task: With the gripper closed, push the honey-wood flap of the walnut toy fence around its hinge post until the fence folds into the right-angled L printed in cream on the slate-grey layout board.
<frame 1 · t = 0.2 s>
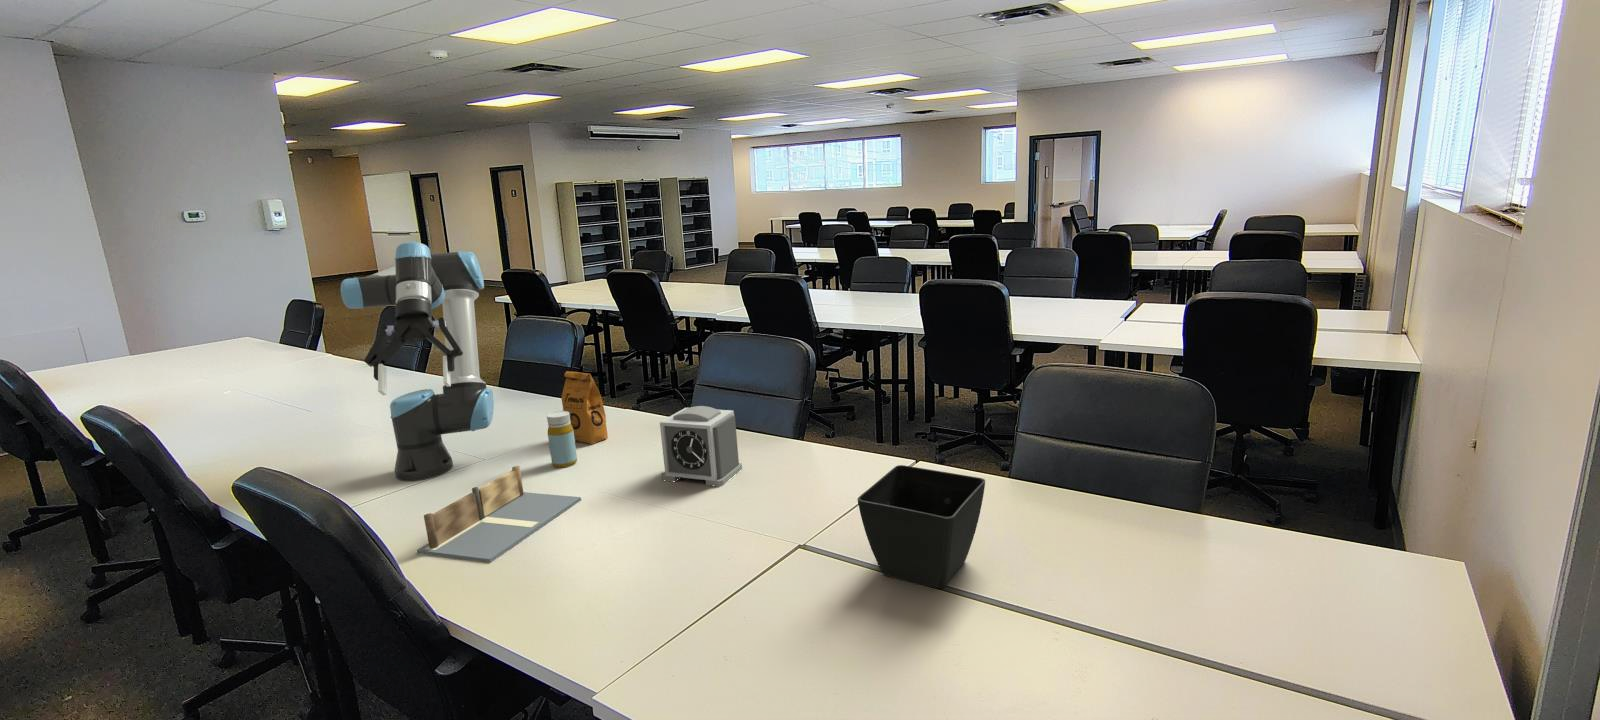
hand: (414, 389, 169), 35 cm above the table, tool tilted 35°, fingers open, 13 cm apart
alarm clock: (702, 475, 203), on the table
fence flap: (501, 490, 187), point 5 cm above the table, hinge at 0.0°
coffee package: (588, 440, 238), on the table
bottle: (565, 464, 218), on the table
layout board: (480, 522, 181), on the table
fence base: (454, 516, 173), on the layout board, point 5 cm above the table
flower pot: (924, 569, 147), on the table
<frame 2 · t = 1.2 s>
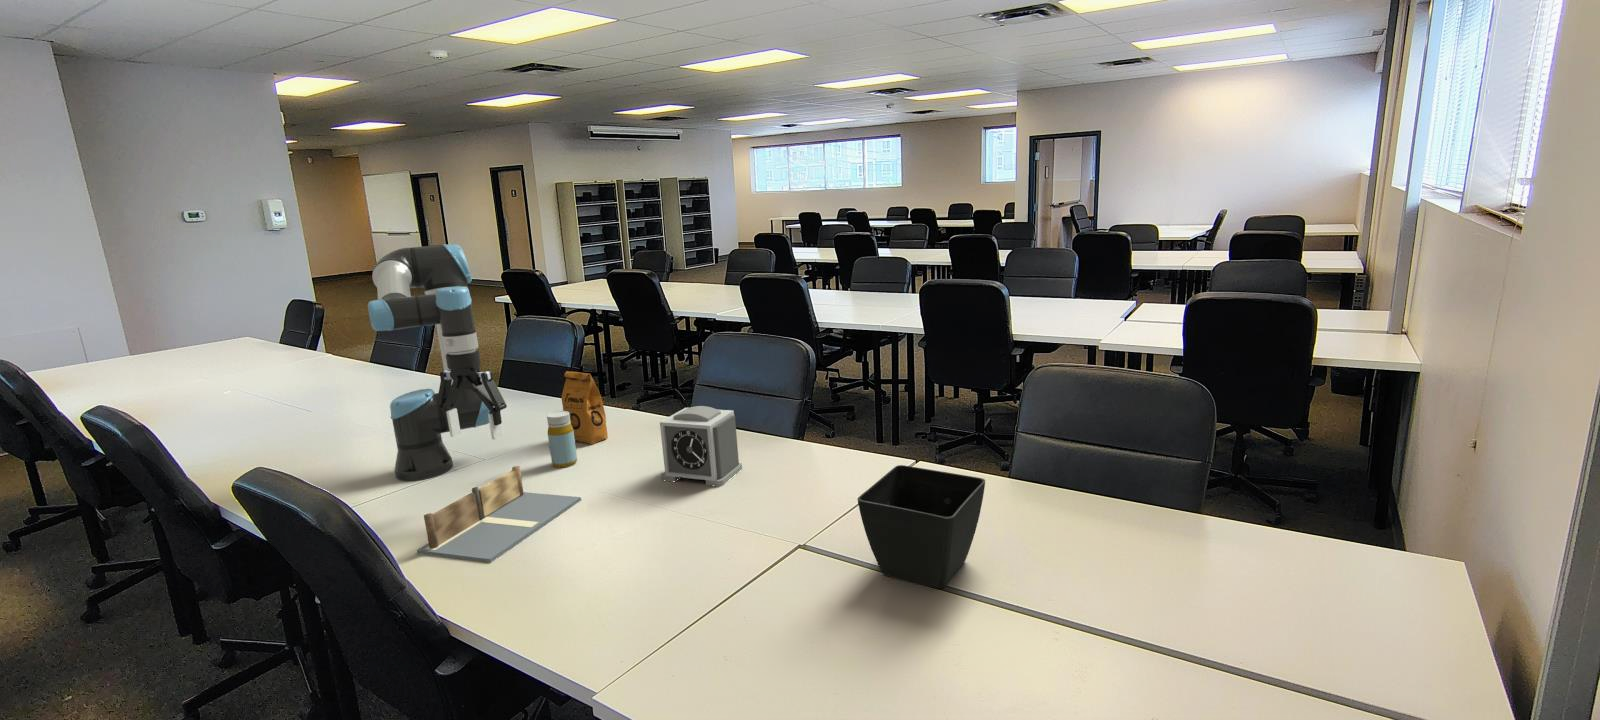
hand: (476, 436, 187), 18 cm above the table, tool pointing down, fingers open, 12 cm apart
nothing on the table moved.
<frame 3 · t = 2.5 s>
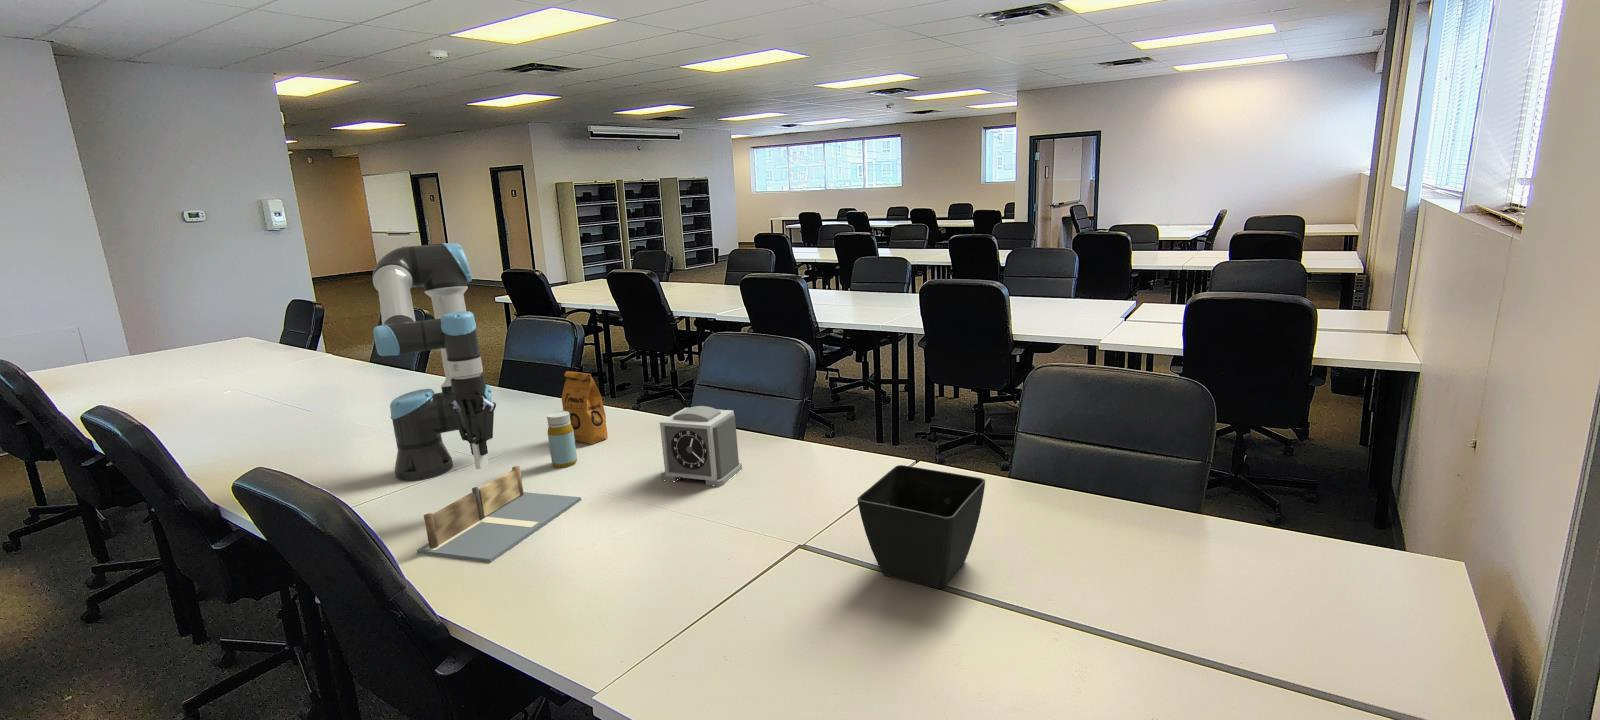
hand: (482, 467, 188), 10 cm above the table, tool pointing down, fingers closed
nothing on the table moved.
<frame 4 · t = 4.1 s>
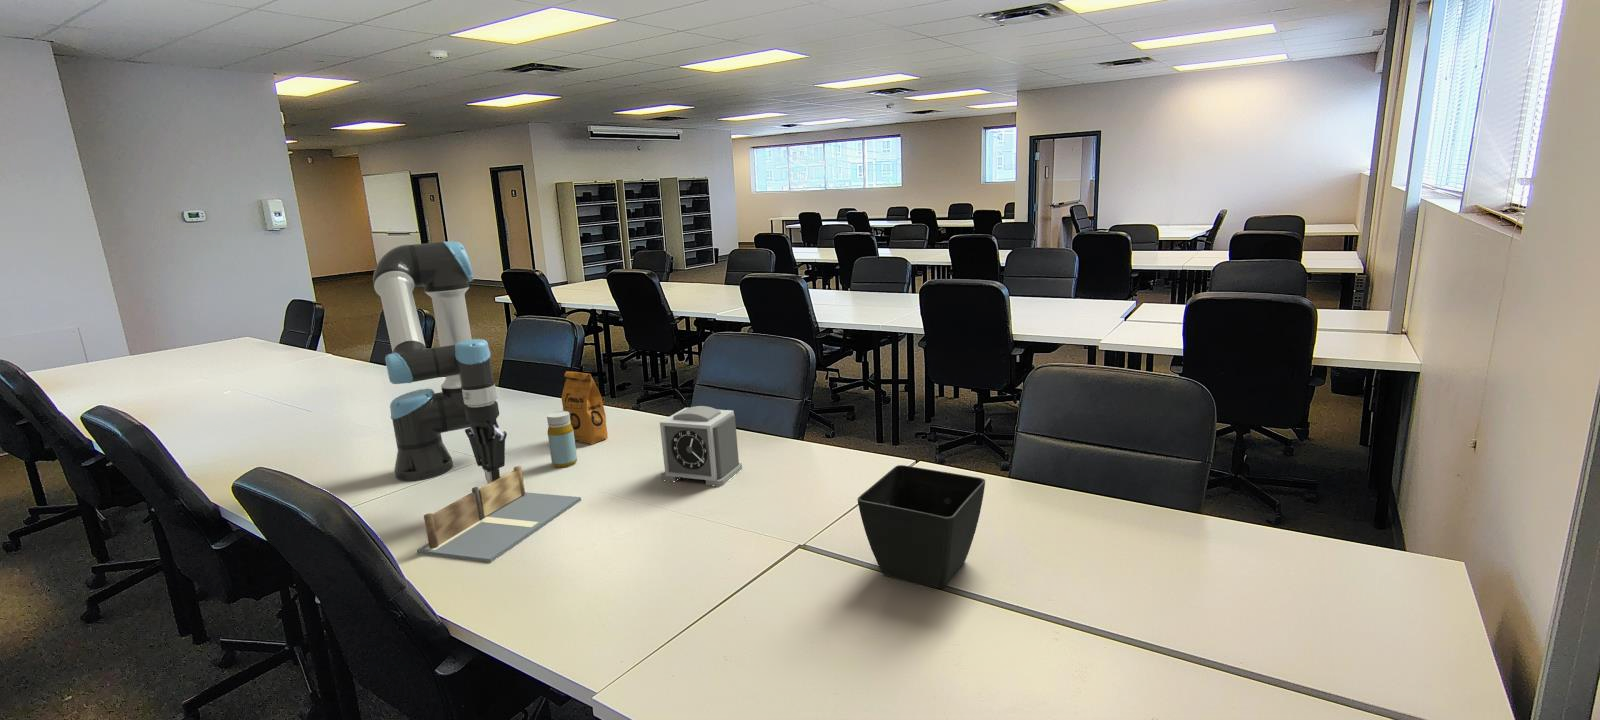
hand: (495, 493, 189), 4 cm above the table, tool pointing down, fingers closed
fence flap: (501, 490, 187), point 5 cm above the table, hinge at -2.0°, touching gripper
everything else where it was.
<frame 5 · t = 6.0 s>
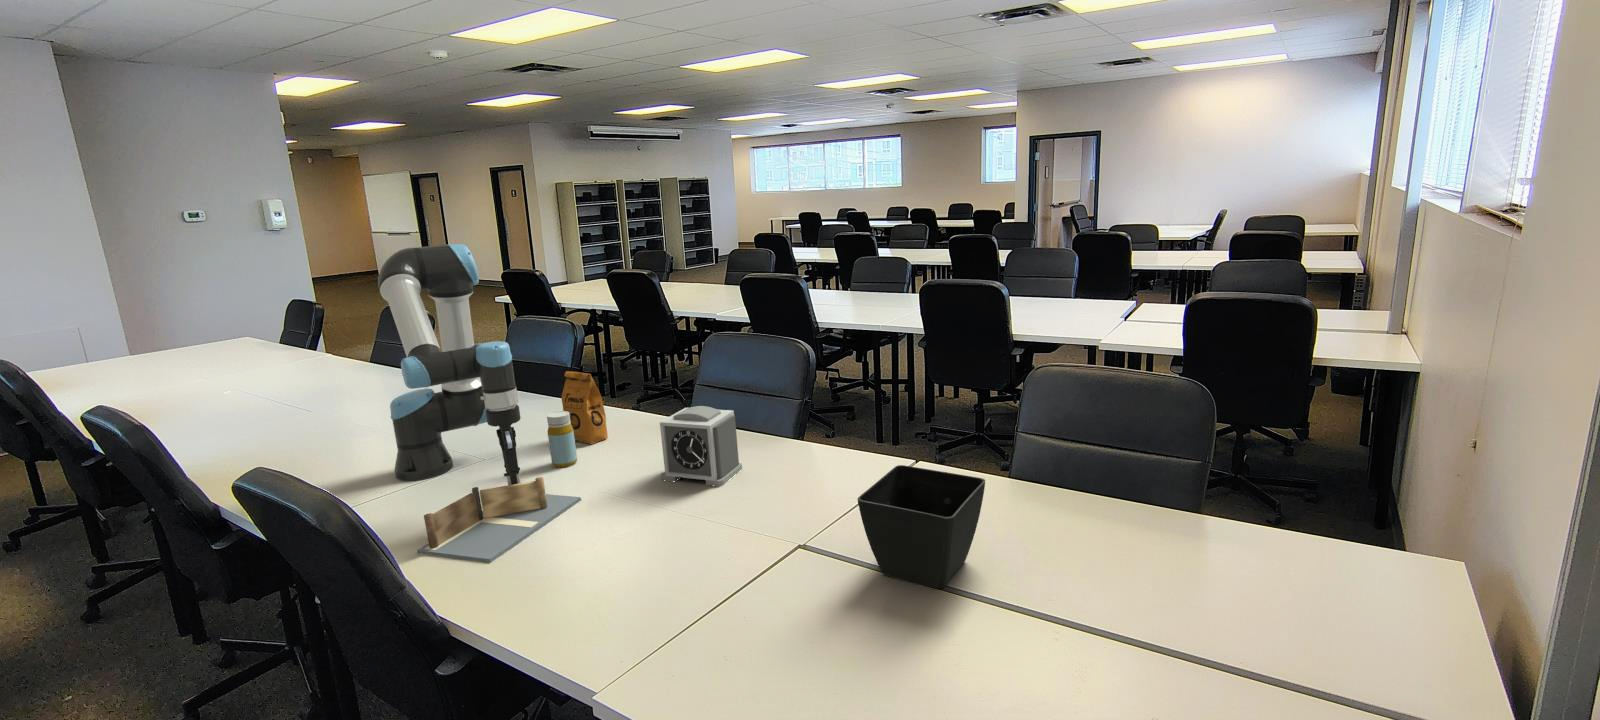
hand: (516, 498, 185), 3 cm above the table, tool pointing down, fingers closed
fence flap: (513, 497, 182), point 5 cm above the table, hinge at -52.4°, touching gripper
everything else where it was.
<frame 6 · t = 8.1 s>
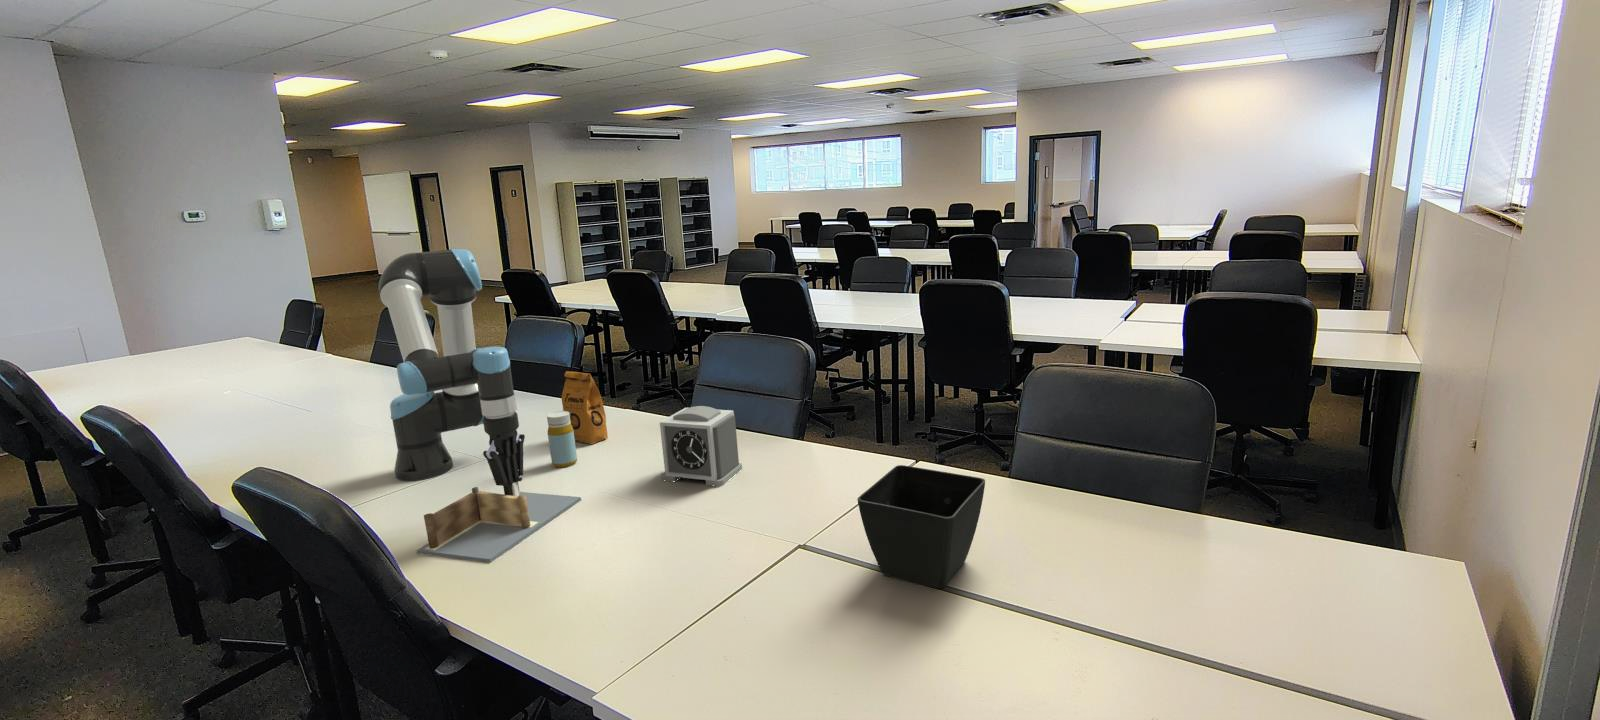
hand: (514, 508, 179), 3 cm above the table, tool pointing down, fingers closed
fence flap: (503, 507, 176), point 5 cm above the table, hinge at -95.3°, touching gripper
everything else where it was.
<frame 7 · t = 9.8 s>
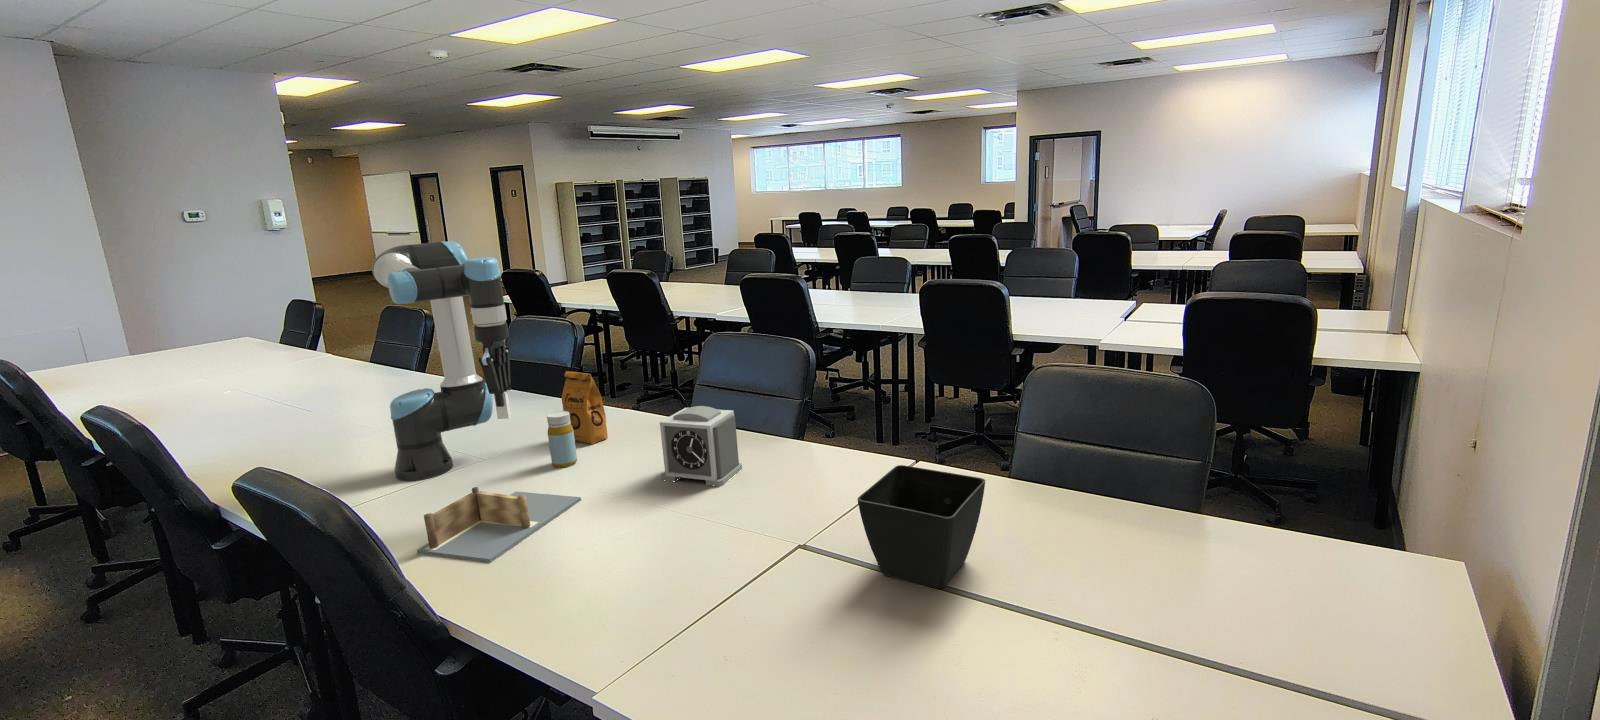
hand: (504, 417, 185), 23 cm above the table, tool pointing down, fingers closed
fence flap: (503, 507, 176), point 5 cm above the table, hinge at -95.3°
everything else where it was.
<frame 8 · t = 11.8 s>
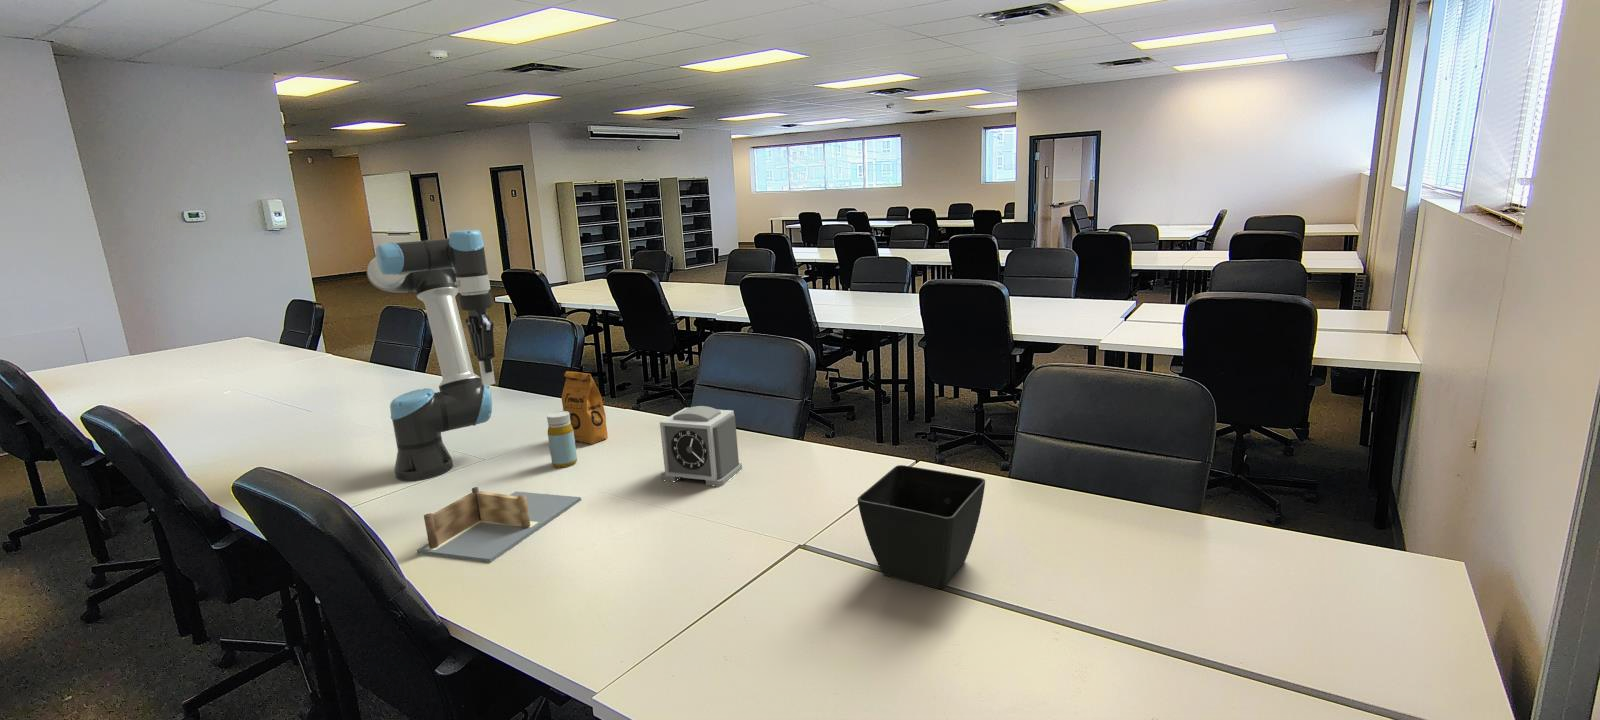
hand: (488, 384, 193), 29 cm above the table, tool pointing down, fingers closed
nothing on the table moved.
at the end: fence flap at -95° (first picture: +0°) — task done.
